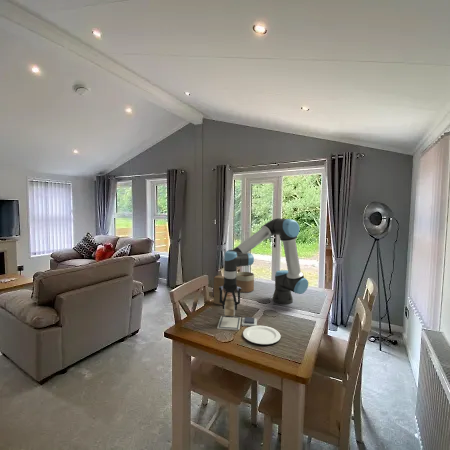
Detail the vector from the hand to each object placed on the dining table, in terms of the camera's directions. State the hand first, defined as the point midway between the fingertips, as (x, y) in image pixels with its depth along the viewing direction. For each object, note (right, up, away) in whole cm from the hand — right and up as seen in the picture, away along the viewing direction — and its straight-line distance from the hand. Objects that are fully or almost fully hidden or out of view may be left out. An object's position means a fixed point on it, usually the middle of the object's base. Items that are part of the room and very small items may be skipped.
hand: (229, 314), depth 160 cm
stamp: (0, -1, 0) cm, 1 cm away
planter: (+14, -1, +64) cm, 66 cm away
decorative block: (-5, -3, +32) cm, 33 cm away
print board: (0, -6, 0) cm, 6 cm away
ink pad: (+12, -6, +2) cm, 14 cm away
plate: (+17, -8, -15) cm, 24 cm away
